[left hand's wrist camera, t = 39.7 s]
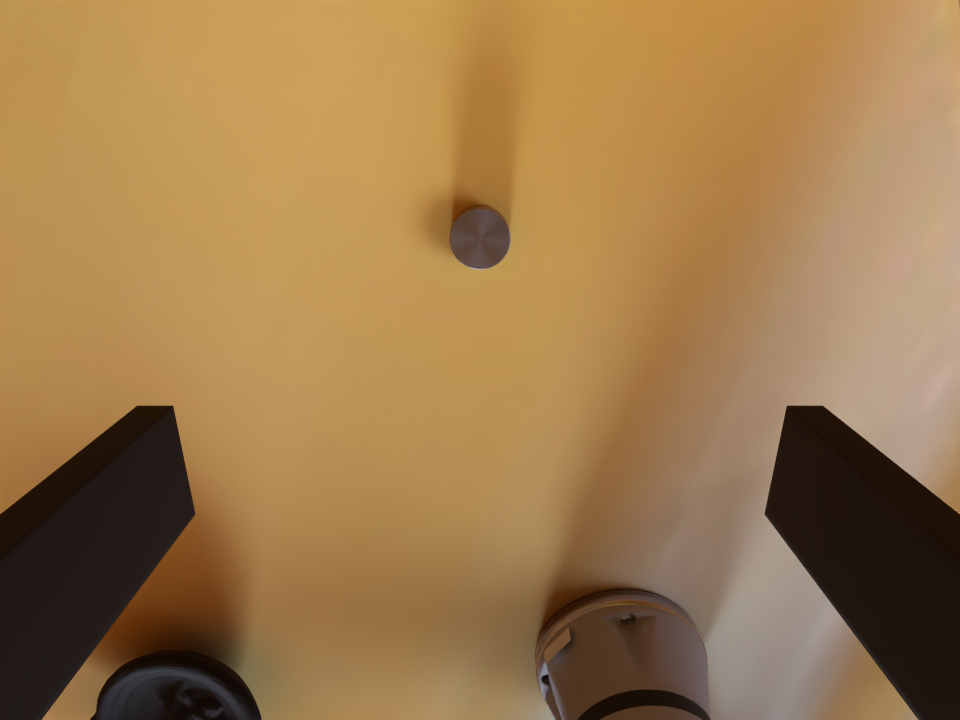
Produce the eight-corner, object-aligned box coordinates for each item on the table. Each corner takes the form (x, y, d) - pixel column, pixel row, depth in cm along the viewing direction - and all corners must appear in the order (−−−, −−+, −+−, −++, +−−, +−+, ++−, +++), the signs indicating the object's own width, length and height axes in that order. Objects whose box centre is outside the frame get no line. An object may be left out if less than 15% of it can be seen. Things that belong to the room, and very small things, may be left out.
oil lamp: (44, 665, 55) (4, 714, 51) (227, 604, 53) (202, 650, 48) (134, 766, 60) (105, 820, 56) (305, 716, 58) (289, 767, 53)
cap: (520, 243, 41) (522, 247, 40) (472, 275, 42) (472, 280, 41) (487, 193, 40) (488, 196, 38) (439, 227, 41) (437, 231, 39)
